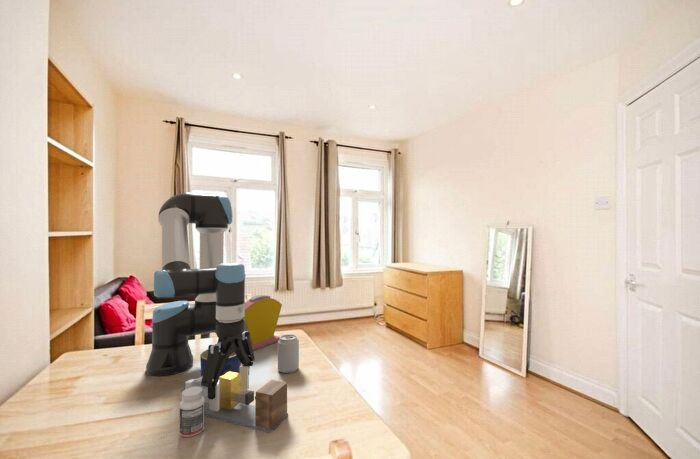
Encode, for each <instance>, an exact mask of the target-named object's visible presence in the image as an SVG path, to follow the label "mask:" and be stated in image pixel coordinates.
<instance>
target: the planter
mask: <svg viewBox="0 0 700 459" xmlns="http://www.w3.org/2000/svg"><path fill="white" fill-rule="evenodd" d="M221 355H225V354H222V353H221ZM207 357H208V349H205V350H204V351H203V352H201V353H200V357H199V359H200V377H201V376H203V373H204V369H205V365H206V361H207ZM241 365H242V364H241V362H240V360H239V359H238V357H237V355H236V353H235V352H233V353H232V354H231V355H230V356H229V358H228V359H227V360H226V362H225V365H224V367H223V370H222V372H221V375H220V376H222V375H224V374H226V373H227V372H229V371H231V372H236V373H240V366H241Z"/></svg>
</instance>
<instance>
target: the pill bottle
mask: <svg viewBox="0 0 700 459" xmlns="http://www.w3.org/2000/svg"><path fill="white" fill-rule="evenodd" d="M202 394H203V389H202V388H201V387H190V388H188V389H183V391H182V392H181V399H182V400H181V402H180V403H179V434H180V436H182V437H185V438H191V437H194V436H197V435H199V434H200V433H202V432H203V431H204V429H205V427H206V416H205V398H204V397H203V396H202Z"/></svg>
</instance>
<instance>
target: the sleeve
mask: <svg viewBox="0 0 700 459" xmlns="http://www.w3.org/2000/svg"><path fill="white" fill-rule="evenodd" d="M202 377H203V376H201V375H200V376H199V377H197V378H195V379H196V380H194V381H192V387H201V388H202V389H203V394H202V396H203V397H204V398H205V410H206V411H210V412H216V411H214V410H209V399H208V387H205V386H201V381H202ZM220 377H221V376H220ZM213 381H214V379H213ZM217 384H219V380H218V383H217ZM220 408H221V407H219V409H220Z"/></svg>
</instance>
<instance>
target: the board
mask: <svg viewBox="0 0 700 459" xmlns="http://www.w3.org/2000/svg"><path fill="white" fill-rule="evenodd" d="M288 416H289V412H287V415H286V416H285V417H284V418H283V419H282V421H280V422H281V423H282V422H283V421H284V420H285V419H286V418H287V417H288ZM205 417H207V418H210V419H211V418H212V419H214V420H215V419H216V420H219V421H223V422H227V423H231V424H235V425H239V426H242V427H246V428H251V429H255V430H259V431H262V432H266V433H269V434H270V433H272V432H273V431H274V430H275V429H276V428H278V426H279V425H280V424H281V423H280V422H279V423H278V424H277V425H278V426H277V425H276V426H275V427H276V428H273V429H274V430H273V429H270V428H266V427H262V426H258V425H255V405H253V404H251V403H250V404H249V405H246V404H243V403H239V404H238V405H236V406H235V407H234V408H232V409H226V408H222V407H221V408H220V409H219V411H216V412H210V411H206V410H205ZM272 430H273V431H272Z"/></svg>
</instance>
